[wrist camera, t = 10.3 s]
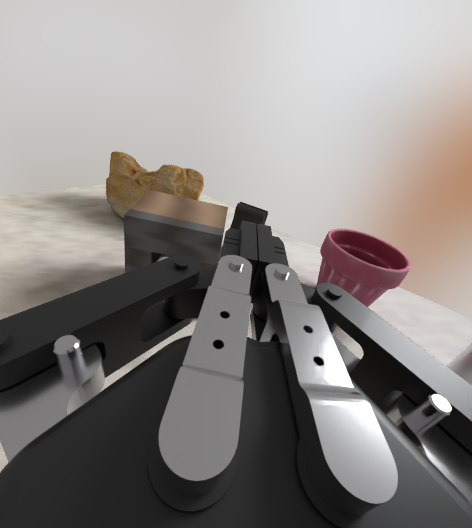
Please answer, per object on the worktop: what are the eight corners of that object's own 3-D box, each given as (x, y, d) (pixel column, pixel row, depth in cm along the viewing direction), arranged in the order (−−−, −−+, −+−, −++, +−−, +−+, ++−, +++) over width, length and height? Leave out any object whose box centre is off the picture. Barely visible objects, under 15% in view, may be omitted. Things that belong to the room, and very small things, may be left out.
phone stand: (245, 272, 52) (260, 218, 46) (218, 261, 53) (230, 207, 47) (257, 254, 59) (273, 206, 53) (234, 245, 61) (246, 197, 54)
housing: (212, 280, 47) (227, 207, 40) (205, 318, 39) (222, 235, 31) (147, 267, 46) (150, 189, 39) (125, 304, 38) (123, 214, 30)
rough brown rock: (217, 228, 68) (229, 171, 61) (183, 247, 54) (193, 174, 47) (147, 202, 74) (151, 147, 67) (99, 213, 59) (97, 144, 53)
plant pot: (290, 278, 54) (313, 224, 47) (343, 279, 58) (371, 229, 52) (326, 331, 43) (363, 270, 36) (388, 327, 47) (431, 272, 40)
